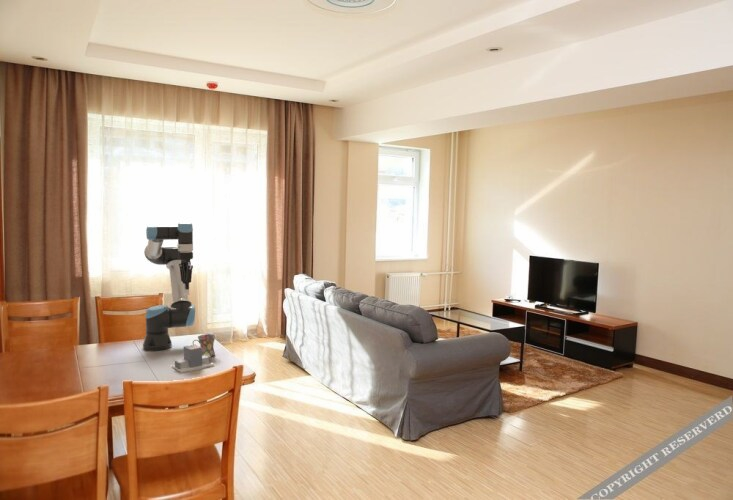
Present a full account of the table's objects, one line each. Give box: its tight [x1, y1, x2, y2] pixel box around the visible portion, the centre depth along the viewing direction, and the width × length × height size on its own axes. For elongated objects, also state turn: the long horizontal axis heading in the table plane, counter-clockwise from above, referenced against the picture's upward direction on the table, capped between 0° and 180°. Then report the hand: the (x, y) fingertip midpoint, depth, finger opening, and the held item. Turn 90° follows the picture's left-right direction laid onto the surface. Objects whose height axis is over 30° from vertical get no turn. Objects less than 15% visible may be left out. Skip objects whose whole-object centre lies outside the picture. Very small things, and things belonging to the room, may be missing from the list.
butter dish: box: [171, 354, 215, 374], centre depth 263 cm, size 11×17×4 cm, turn 132°
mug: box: [192, 333, 217, 357], centre depth 281 cm, size 12×9×11 cm
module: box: [183, 344, 202, 368], centre depth 263 cm, size 8×6×9 cm
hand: (186, 294), depth 282 cm, fingers closed
